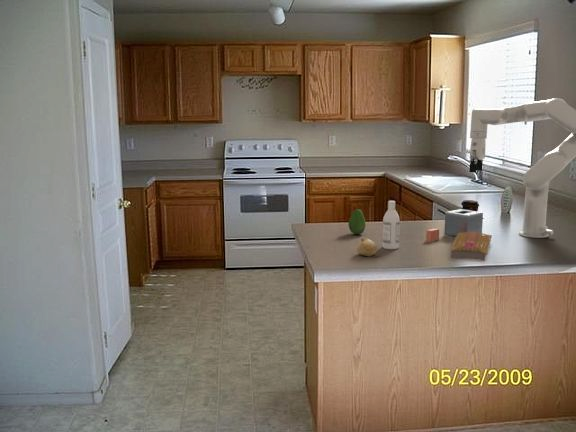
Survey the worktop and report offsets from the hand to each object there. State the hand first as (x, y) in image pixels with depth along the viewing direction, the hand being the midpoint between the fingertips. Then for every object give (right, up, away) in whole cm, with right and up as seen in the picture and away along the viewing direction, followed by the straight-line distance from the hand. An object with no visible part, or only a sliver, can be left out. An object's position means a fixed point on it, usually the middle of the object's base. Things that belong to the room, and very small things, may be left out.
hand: (475, 171), depth 289 cm
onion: (-58, -37, -45) cm, 82 cm away
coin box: (-9, -30, -9) cm, 33 cm away
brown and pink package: (-13, -36, -36) cm, 52 cm away
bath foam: (-46, -35, -32) cm, 66 cm away
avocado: (-57, -30, -6) cm, 65 cm away
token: (-25, -32, -19) cm, 45 cm away
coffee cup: (0, -27, +11) cm, 29 cm away
